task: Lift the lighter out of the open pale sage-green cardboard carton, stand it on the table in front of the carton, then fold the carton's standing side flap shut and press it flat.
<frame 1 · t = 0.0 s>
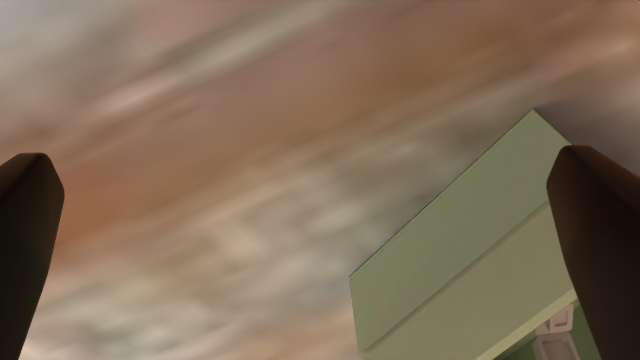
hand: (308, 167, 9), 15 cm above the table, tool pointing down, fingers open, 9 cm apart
flap: (469, 316, 19), point 9 cm above the table, hinge at 110.0°
carton: (507, 258, 30), on the table
lighter: (519, 269, 30), resting on carton
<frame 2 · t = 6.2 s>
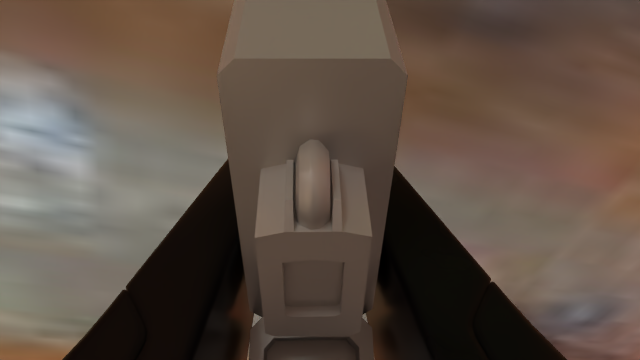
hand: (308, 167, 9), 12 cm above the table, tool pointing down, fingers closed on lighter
lighter: (308, 105, 10), point 10 cm above the table, touching gripper
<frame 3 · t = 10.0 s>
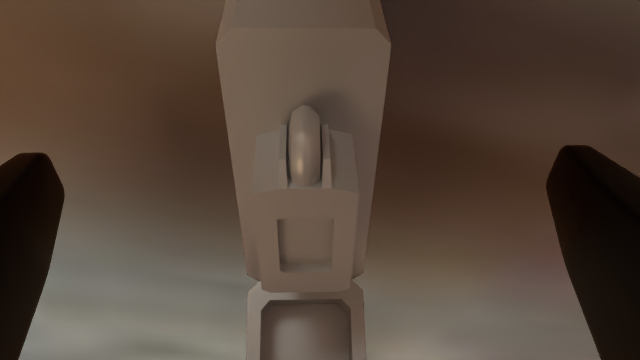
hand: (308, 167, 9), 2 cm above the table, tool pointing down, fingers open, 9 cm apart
lighter: (303, 84, 11), on the table
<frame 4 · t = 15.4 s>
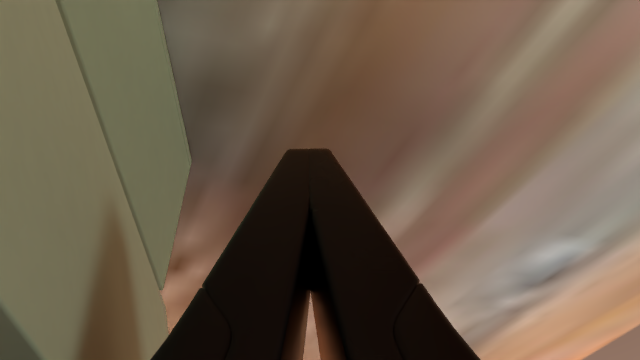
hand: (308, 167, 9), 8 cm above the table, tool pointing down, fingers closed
flap: (86, 234, 8), point 10 cm above the table, hinge at 105.6°, touching gripper
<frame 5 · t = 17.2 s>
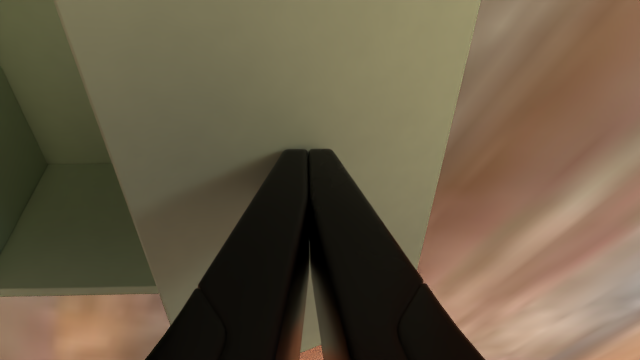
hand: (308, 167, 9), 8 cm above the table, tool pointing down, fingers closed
flap: (304, 156, 9), point 8 cm above the table, hinge at 21.8°
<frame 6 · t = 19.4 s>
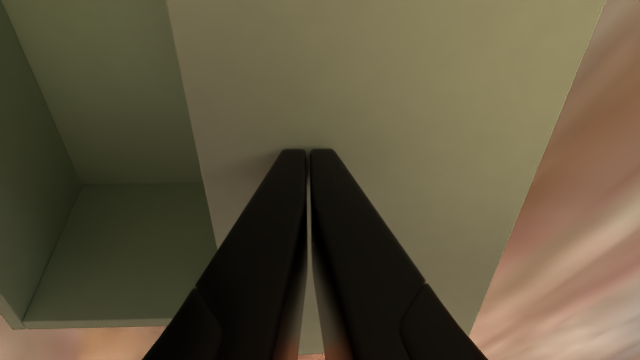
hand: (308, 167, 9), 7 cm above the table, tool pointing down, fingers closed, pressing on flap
flap: (374, 158, 9), point 7 cm above the table, hinge at 3.0°, touching gripper
carton: (232, 1, 14), on the table
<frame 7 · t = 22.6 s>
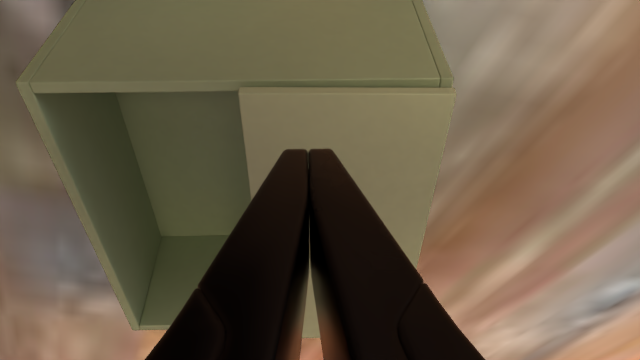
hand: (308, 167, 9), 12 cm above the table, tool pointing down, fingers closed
flap: (339, 242, 19), point 6 cm above the table, hinge at -1.3°
carton: (263, 137, 24), on the table
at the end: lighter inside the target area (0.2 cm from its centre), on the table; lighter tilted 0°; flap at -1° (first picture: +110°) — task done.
